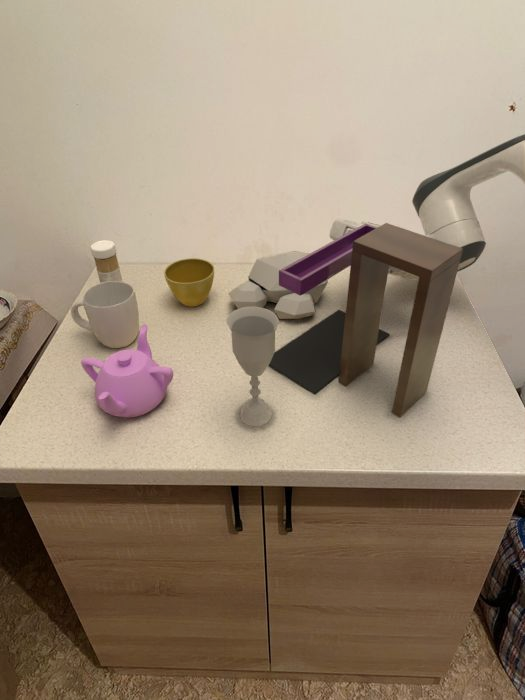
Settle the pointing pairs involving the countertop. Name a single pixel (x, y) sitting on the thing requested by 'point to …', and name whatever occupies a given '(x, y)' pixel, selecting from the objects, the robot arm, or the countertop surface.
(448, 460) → the countertop surface
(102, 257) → the sprinkles bottle
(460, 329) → the countertop surface
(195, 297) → the mustard yellow bowl
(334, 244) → the plum dish
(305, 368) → the charcoal mat
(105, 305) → the mug
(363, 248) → the walnut stand
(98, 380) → the teapot
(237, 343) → the chalice
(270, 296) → the rock
